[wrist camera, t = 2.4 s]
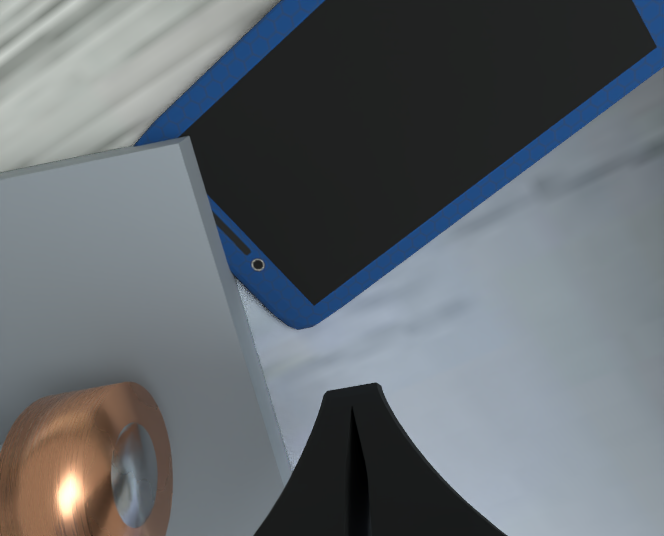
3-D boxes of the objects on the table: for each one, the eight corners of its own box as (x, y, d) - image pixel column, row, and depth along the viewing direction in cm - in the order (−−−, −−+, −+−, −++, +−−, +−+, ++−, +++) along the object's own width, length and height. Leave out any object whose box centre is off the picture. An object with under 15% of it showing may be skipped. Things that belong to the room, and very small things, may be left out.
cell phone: (704, 25, 14) (725, 23, 13) (298, 330, 17) (297, 342, 16) (562, -266, 11) (578, -287, 11) (123, 153, 15) (113, 159, 14)
